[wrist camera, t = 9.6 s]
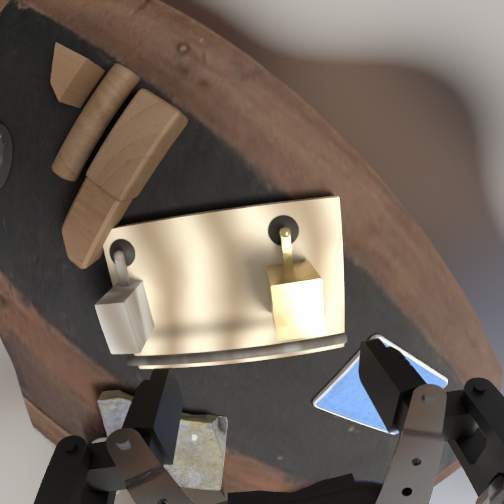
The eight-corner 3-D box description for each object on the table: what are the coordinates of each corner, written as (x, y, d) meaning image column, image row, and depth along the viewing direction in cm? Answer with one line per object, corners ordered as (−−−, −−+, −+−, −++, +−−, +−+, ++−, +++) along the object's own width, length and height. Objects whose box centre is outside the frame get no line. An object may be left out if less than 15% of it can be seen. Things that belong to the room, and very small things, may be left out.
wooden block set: (186, 99, 21) (78, 278, 24) (196, 113, 26) (102, 260, 29) (58, 30, 17) (-21, 184, 21) (82, 47, 23) (9, 180, 26)
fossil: (229, 395, 35) (100, 379, 33) (231, 420, 31) (90, 401, 29) (220, 470, 41) (122, 458, 39) (221, 491, 36) (117, 478, 34)
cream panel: (143, 361, 32) (126, 398, 25) (106, 228, 28) (73, 243, 21) (340, 339, 32) (359, 374, 25) (334, 195, 28) (360, 202, 21)
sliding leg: (271, 314, 29) (276, 341, 24) (261, 228, 27) (265, 241, 22) (311, 308, 29) (324, 333, 24) (305, 223, 27) (319, 234, 22)
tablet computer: (447, 377, 36) (451, 382, 34) (393, 432, 38) (396, 437, 37) (373, 328, 32) (377, 334, 31) (308, 400, 35) (309, 406, 34)
